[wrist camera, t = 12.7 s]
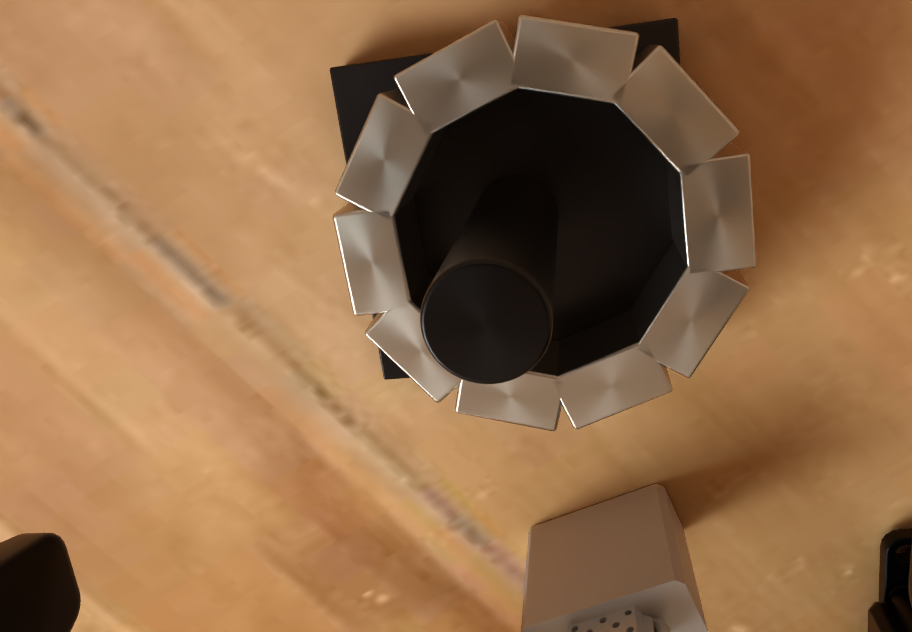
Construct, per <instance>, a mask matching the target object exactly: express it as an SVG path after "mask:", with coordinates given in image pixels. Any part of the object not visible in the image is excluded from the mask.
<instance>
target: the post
mask: <svg viewBox="0 0 912 632" xmlns="http://www.w3.org/2000/svg"><path fill="white" fill-rule="evenodd" d="M609 28H613V29H619V30H626V31H632V32H637V33H638V34H639V41H638V46H637V51H636V56H637V55H638V54H639V53H640V52H641V51H642V50H643V49H644V48H645V47H646V46H648V45H661V46H663V47H664V48H665V49H666V50H667V51H668V53H669V54H670V55H671V56H672V57H673V58H674V59H675V60H676V61H677V62H678V63H679V65H680V54H679V33H678V19H677V18H671V19H664V20H657V21H650V22H643V23H636V24H629V25H623V26H616V27H609ZM432 54H433V53H429V54H422V55H415V56H408V57H401V58H394V59H387V60H380V61H373V62H366V63H359V64H352V65H346V66H339V67H332V68H330V74H331V80H332V85H333V91H334V97H335V103H336V108H337V114H338V120H339V125H340V131H341V137H342V142H343V148H344V154H345V160H346V165H347V163H348V160H349V158H350V156H351V154H352V151H353V149H354V147H355V145H356V142H357V140H358V138H359V135H360V133H361V131H362V129H363V126H364V124H365V122H366V120H367V117H368V115H369V113H370V111H371V108H372V106H373V104H374V101H375V99H376V97H377V95H378V94H379V93H383V92H387V91H391V90H395V89H398V86H397V84H396V82H395V80H394V76H395V75H396V74H398V73H399V72H401V71H403V70H405V69H407V68H408V67H410V66H412V65H414V64H416V63H417V62H419V61H421V60H423V59H425V58H426V57H428V56H430V55H432ZM636 56H635V57H636ZM414 201H415V206H416V212H417V217H418V223H419V228H420V234H421V239H422V244H423V250H424V255H425V261H426V266H427V272H428V274H429V275H430V276H431V277H432V278H433V281H432V283H431V285H430V286H429V288H428V290H427V292H426V294H425V296H424V299H423V302H422V306H421V311H420V327H421V332H422V336H423V339H424V342H425V344H426V346H427V348H428V350H429V352H430V353H431V355H432V356H433V358H434V359H435V360H436V361H437V362H438V363H439V364H440V365H441V366H442V367H443V368H444V369H446V370H447V371H448V372H450V373H451V374H453V375H455V376H457V377H459V378H461V379H463V380H466V381H469V382H473V383H479V384H498V383H504V382H507V381H511V380H513V379H516V378H518V377H520V376H522V375H524V374H525V373H527V372H528V371H529V370H531V369H532V368H533V367H534V366H535V365H536V364H537V363H538V362H539V361H540V359H541V358H542V357H543V355H544V354H545V352H546V350H547V348H548V346H549V343H550V340H551V339H552V340H557V341H559V340H561V339H564V338H566V337H568V336H570V335H573V334H575V333H577V332H580V331H582V330H584V329H587V328H589V327H591V326H594V325H596V324H598V323H601V322H603V321H605V320H607V319H610V318H612V317H614V316H617V315H619V314H621V313H624V312H626V311H628V310H631V308H632V307H633V305H634V303H635V302H636V300H637V298H638V297H639V295H640V294H641V292H642V290H643V289H644V287H645V286H646V284H647V282H648V281H649V279H650V277H651V276H652V274H653V273H654V271H655V269H656V268H657V266H658V265H659V263H660V261H661V260H662V258H663V256H664V255H665V253H666V252H667V250H668V248H669V247H670V245H671V243H672V242H673V233H672V222H671V210H670V199H669V188H668V177H667V165H666V160H665V158H664V157H663V156H662V155H661V154H660V153H659V152H658V151H657V150H656V149H655V148H654V147H653V146H652V145H651V144H650V142H649V141H648V140H647V139H646V138H645V137H644V136H643V135H642V134H641V133H640V132H639V131H638V130H637V129H636V127H635V126H634V125H633V124H632V123H631V122H630V121H629V120H628V119H627V118H626V117H625V116H624V115H623V114H622V113H621V111H620V110H619V109H618V108H617V107H616V106H615V105H614V104H609V103H603V102H597V101H591V100H584V99H578V98H572V97H566V96H559V95H553V94H547V93H541V92H534V91H528V90H522V89H517V90H515V91H513V92H511V93H509V94H507V95H505V96H504V97H502V98H500V99H498V100H496V101H494V102H492V103H490V104H488V105H486V106H485V107H483V108H481V109H479V110H477V111H475V112H473V113H471V114H469V115H468V116H466V117H464V118H462V119H460V120H458V121H456V122H454V123H452V124H451V125H449V126H447V128H446V130H445V132H444V135H443V137H442V139H441V141H440V143H439V145H438V147H437V149H436V151H435V153H434V155H433V157H432V160H431V162H430V164H429V166H428V168H427V170H426V172H425V174H424V176H423V178H422V180H421V182H420V185H419V187H418V189H417V191H416V193H415V195H414ZM377 314H378V313H377ZM377 314H373V319H374V318H375V317H376V315H377ZM378 348H379V347H378ZM379 354H380V359H381V365H382V371H383V377H384V379H399V378H410V377H409V376H408V375H407V374H406V373H405V372H404V371H403V370H402V369H401V368H400V367H399V366H398V365H397V364H396V363H394V362H393V361H392V360H391V359H390V358H389V357H388V356H387V355H386V354H385V353H384V352H383V351H382V350H381V349H380V348H379Z"/></svg>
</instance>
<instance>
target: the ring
mask: <svg viewBox="0 0 912 632" xmlns="http://www.w3.org/2000/svg"><path fill="white" fill-rule="evenodd" d="M638 41H639V34H638V33H637V32H632V31H626V30H619V29H613V28H606V27H600V26H593V25H586V24H580V23H573V22H567V21H560V20H554V19H547V18H541V17H534V16H528V15H520V16H519V18H518V22H517V28H516V34H515V40H514V39H513V37H512V35H511V33H510V31H509V29H508V26H507V24H506V23H505V22H502V21H499V20H493V21H491V22H489V23H487V24H485V25H484V26H482V27H480V28H478V29H476V30H475V31H473V32H471V33H469V34H468V35H466V36H464V37H462V38H460V39H459V40H457V41H455V42H453V43H451V44H450V45H448V46H446V47H444V48H442V49H441V50H439V51H437V52H435V53H433V54H432V55H430V56H428V57H426V58H425V59H423V60H421V61H419V62H417V63H416V64H414V65H412V66H410V67H408V68H407V69H405V70H403V71H401V72H399V73H398V74H396V75H395V76H394V80H395V82H396V84H397V86H398V89H395V90H391V91H387V92H383V93H379V94H378V95H377V97H376V99H375V101H374V104H373V106H372V108H371V111H370V113H369V115H368V117H367V120H366V122H365V124H364V126H363V129H362V131H361V133H360V135H359V138H358V140H357V142H356V145H355V147H354V149H353V151H352V154H351V156H350V158H349V160H348V163H347V165H346V167H345V170H344V172H343V174H342V176H341V179H340V181H339V183H338V185H337V188H336V190H335V194H336V195H337V196H338V197H340V198H342V199H344V200H346V201H348V202H350V203H349V204H347V205H346V206H345V207H343V208H342V209H340V210H339V211H338V212H336V213H335V214H334V215H333V220H334V225H335V229H336V234H337V239H338V243H339V248H340V253H341V257H342V262H343V266H344V271H345V276H346V280H347V285H348V290H349V294H350V299H351V303H352V308H353V313H354V314H355V315H357V316H361V315H369V314H377V313H378V314H377V315H376V317H375V318H374V320H373V321H372V322H371V324H370V325H369V327H368V328H367V329H366V331H365V334H366V336H367V337H368V338H369V339H370V340H371V341H372V342H373V343H375V344H376V345H377V346H378V347H379V348H380V349H381V350H382V351H383V352H384V353H385V354H386V355H387V356H388V357H389V358H390V359H391V360H392V361H393V362H394V363H396V364H397V365H398V366H399V367H400V368H401V369H402V370H403V371H404V372H405V373H406V374H407V375H408V376H409V377H410V378H411V379H412V380H413V381H414V382H416V383H417V384H418V385H419V386H420V387H421V388H422V389H423V390H424V391H425V392H426V393H427V394H428V395H429V396H430V397H431V398H432V399H433V400H434V401H435V402H437V403H438V402H440V401H441V400H443V399H444V398H445V397H446V396H447V395H448V394H449V393H450V392H451V391H453V390H454V389H455V388H456V387H457V386H458V385H459V387H458V394H457V400H456V406H455V410H456V412H457V413H461V414H466V415H472V416H477V417H482V418H487V419H492V420H498V421H503V422H508V423H513V424H518V425H524V426H529V427H534V428H539V429H545V430H550V431H555V430H556V429H557V425H558V420H559V416H560V411H561V406H563V408H564V410H565V411H566V413H567V415H568V417H569V419H570V421H571V423H572V425H573V427H574V428H575V429H579V428H582V427H584V426H587V425H589V424H592V423H594V422H597V421H599V420H602V419H604V418H607V417H609V416H612V415H614V414H617V413H619V412H622V411H624V410H627V409H629V408H632V407H634V406H637V405H639V404H642V403H644V402H647V401H649V400H652V399H654V398H657V397H659V396H662V395H664V394H667V393H669V392H671V391H672V390H673V388H672V385H671V381H670V378H669V375H668V372H667V368H666V367H668V368H670V369H672V370H673V371H675V372H677V373H679V374H681V375H683V376H685V377H687V378H690V377H691V376H692V374H693V373H694V371H695V370H696V368H697V367H698V365H699V364H700V362H701V361H702V359H703V358H704V356H705V355H706V353H707V352H708V350H709V349H710V347H711V346H712V344H713V343H714V341H715V340H716V338H717V337H718V335H719V334H720V332H721V331H722V329H723V328H724V326H725V325H726V323H727V322H728V320H729V319H730V317H731V316H732V315H733V313H734V312H735V310H736V309H737V307H738V306H739V304H740V303H741V301H742V300H743V298H744V297H745V295H746V294H747V292H748V291H749V289H750V287H749V286H748V285H747V283H746V282H745V281H744V279H743V278H742V277H741V275H740V274H739V273H738V271H737V270H739V269H748V268H754V267H756V250H755V233H754V216H753V198H752V181H751V163H750V154H749V153H748V152H746V151H744V150H743V149H741V148H739V147H738V146H736V145H734V144H732V143H731V141H732V140H733V139H734V138H736V137H737V136H738V134H739V133H740V132H739V129H738V128H737V127H736V126H735V125H734V124H733V123H732V122H731V120H730V119H729V118H728V117H727V116H726V115H725V114H724V113H723V112H722V111H721V109H720V108H719V107H718V106H717V105H716V104H715V103H714V102H713V101H712V100H711V99H710V97H709V96H708V95H707V94H706V93H705V92H704V91H703V90H702V89H701V88H700V86H699V85H698V84H697V83H696V82H695V81H694V80H693V79H692V78H691V77H690V76H689V74H688V73H687V72H686V71H685V70H684V69H683V68H682V67H681V66H680V65H679V63H678V62H677V61H676V60H675V59H674V58H673V57H672V56H671V55H670V54H669V53H668V51H667V50H666V49H665V48H664V47H663V46H661V45H648V46H646V47H645V48H644V49H643V50H642V51H641V52H640V53H639V54H638V55H637V56H636V51H637V46H638ZM635 56H636V57H635ZM517 89H522V90H528V91H534V92H541V93H547V94H553V95H559V96H566V97H572V98H578V99H584V100H591V101H597V102H603V103H609V104H614V105H615V106H616V107H617V108H618V109H619V110H620V111H621V113H622V114H623V115H624V116H625V117H626V118H627V119H628V120H629V121H630V122H631V123H632V124H633V125H634V126H635V127H636V129H637V130H638V131H639V132H640V133H641V134H642V135H643V136H644V137H645V138H646V139H647V140H648V141H649V142H650V144H651V145H652V146H653V147H654V148H655V149H656V150H657V151H658V152H659V153H660V154H661V155H662V156H663V157H664V158H665V160H666V165H667V177H668V188H669V199H670V210H671V222H672V233H673V242H672V243H671V245H670V247H669V248H668V250H667V252H666V253H665V255H664V256H663V258H662V260H661V261H660V263H659V265H658V266H657V268H656V269H655V271H654V273H653V274H652V276H651V277H650V279H649V281H648V282H647V284H646V286H645V287H644V289H643V290H642V292H641V294H640V295H639V297H638V298H637V300H636V302H635V303H634V305H633V307H632V308H631V310H628V311H626V312H624V313H621V314H619V315H617V316H614V317H612V318H610V319H607V320H605V321H603V322H601V323H598V324H596V325H594V326H591V327H589V328H587V329H584V330H582V331H580V332H577V333H575V334H573V335H570V336H568V337H566V338H564V339H561V340H559V341H557V340H552V339H551V340H550V343H549V346H548V348H547V350H546V352H545V354H544V355H543V357H542V358H541V359H540V361H539V362H538V363H537V364H536V365H535V366H534V367H533V368H532V369H531V370H529V371H528V372H527V373H525V374H524V375H522V376H520V377H518V378H516V379H513V380H511V381H507V382H504V383H498V384H479V383H473V382H469V381H466V380H463V379H461V378H459V377H457V376H455V375H453V374H451V373H450V372H448V371H447V370H446V369H444V368H443V367H442V366H441V365H440V364H439V363H438V362H437V361H436V360H435V359H434V358H433V356H432V355H431V353H430V352H429V350H428V348H427V346H426V344H425V342H424V339H423V336H422V332H421V327H420V311H421V306H422V302H423V299H424V296H425V294H426V292H427V290H428V288H429V286H430V285H431V283H432V281H433V278H432V277H431V276H430V275H429V274H428V272H427V266H426V261H425V255H424V250H423V244H422V239H421V234H420V228H419V223H418V217H417V212H416V206H415V201H414V195H415V193H416V191H417V189H418V187H419V185H420V182H421V180H422V178H423V176H424V174H425V172H426V170H427V168H428V166H429V164H430V162H431V160H432V157H433V155H434V153H435V151H436V149H437V147H438V145H439V143H440V141H441V139H442V137H443V135H444V132H445V130H446V128H447V126H449V125H451V124H452V123H454V122H456V121H458V120H460V119H462V118H464V117H466V116H468V115H469V114H471V113H473V112H475V111H477V110H479V109H481V108H483V107H485V106H486V105H488V104H490V103H492V102H494V101H496V100H498V99H500V98H502V97H504V96H505V95H507V94H509V93H511V92H513V91H515V90H517Z"/></svg>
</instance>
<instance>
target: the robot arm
mask: <svg viewBox="0 0 912 632" xmlns="http://www.w3.org/2000/svg"><path fill="white" fill-rule="evenodd" d="M905 545H907V546H910V547H909V549H908V550H906V551H905V552H902V553H897V552H896V551H897V549H899V548H900V547H901V546H905ZM80 602H81V600H80V591H79V588H78V584H77V581H76V578H75V575H74V571H73V568H72V565H71V561H70V558H69V555H68V551H67V548H66V545H65V543H64V541H63V540H62V539H61V537H60V536H58V535H56V534H54V533H25V534H20V535H17V536H15V537H12V538H10V539H8V540H6V541H3V542H1V543H0V632H70V631H71V629H72V627H73V625H74V623H75V621H76V619H77V616H78V613H79V609H80ZM868 632H912V528H911V529H898V530H893V531H891V532H889V533H888V534H886V535H885V536H884V538H883V539H882V541H881V545H880V572H879V602H874V603H873V605H872V606H871V607H870V609H869V610H868Z"/></svg>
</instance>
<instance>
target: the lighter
mask: <svg viewBox="0 0 912 632" xmlns="http://www.w3.org/2000/svg"><path fill="white" fill-rule="evenodd" d="M707 631H708V630H707V626H706V622H705V618H704V614H703V609H702V605H701V601H700V597H699V593H698V589H697V584H696V580H695V576H694V572H693V568H692V564H691V559H690V555H689V551H688V547H687V543H686V538H685V534H684V530H683V526H682V524H681V522H680V520H679V518H678V516H677V513H676V511H675V509H674V507H673V505H672V503H671V501H670V498H669V496H668V494H667V492H666V490H665V488H664V486H661V485H658V484H653V485H650V486H647V487H644V488H641V489H638V490H636V491H633V492H630V493H627V494H624V495H621V496H618V497H616V498H613V499H610V500H607V501H604V502H601V503H598V504H596V505H593V506H590V507H587V508H584V509H581V510H578V511H576V512H573V513H570V514H567V515H564V516H561V517H558V518H555V519H553V520H550V521H547V522H544V523H541V524H538V525H535V526H533V527H531V529H530V532H529V536H528V549H527V561H526V574H525V587H524V600H523V613H522V625H521V632H707Z"/></svg>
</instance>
